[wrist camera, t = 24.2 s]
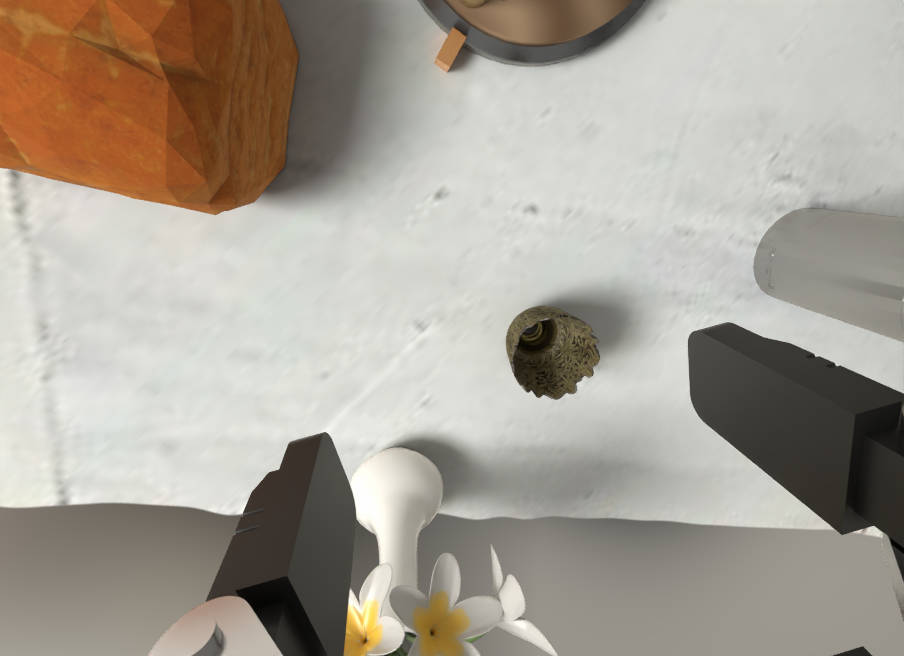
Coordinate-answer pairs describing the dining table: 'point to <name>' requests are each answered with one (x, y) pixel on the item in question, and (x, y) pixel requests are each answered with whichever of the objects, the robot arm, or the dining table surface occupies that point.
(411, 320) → the dining table surface
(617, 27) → the round base plate
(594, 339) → the cup
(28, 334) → the dining table surface
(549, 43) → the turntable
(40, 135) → the bread
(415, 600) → the flower vase
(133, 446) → the dining table surface
